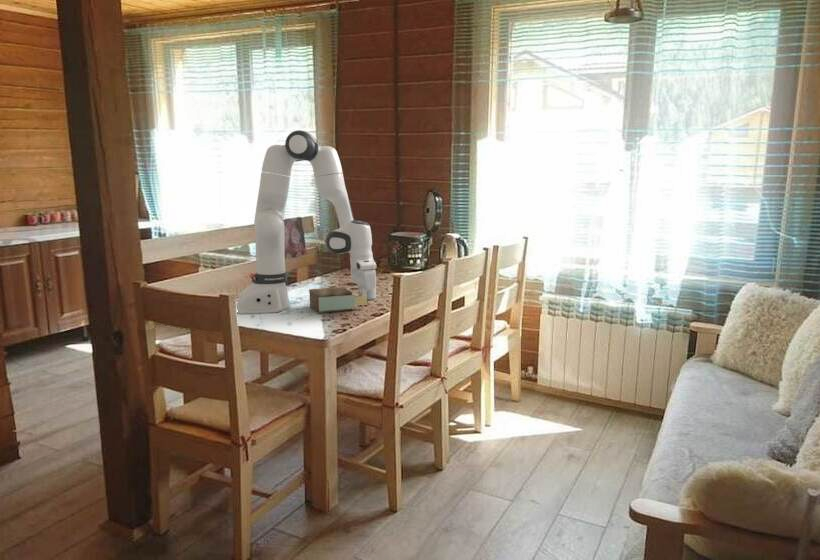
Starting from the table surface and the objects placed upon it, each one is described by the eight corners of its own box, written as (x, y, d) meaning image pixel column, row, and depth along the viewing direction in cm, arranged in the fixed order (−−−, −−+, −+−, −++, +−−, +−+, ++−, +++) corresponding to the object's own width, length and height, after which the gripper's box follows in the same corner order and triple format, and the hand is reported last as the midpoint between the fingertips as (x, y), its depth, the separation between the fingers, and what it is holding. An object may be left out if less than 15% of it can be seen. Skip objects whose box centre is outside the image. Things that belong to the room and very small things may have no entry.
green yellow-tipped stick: (319, 311, 240) (318, 297, 239) (318, 311, 240) (318, 297, 239) (367, 307, 246) (366, 294, 246) (366, 306, 247) (366, 293, 246)
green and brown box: (317, 313, 241) (317, 295, 239) (309, 306, 252) (309, 289, 251) (352, 309, 246) (352, 292, 245) (343, 303, 257) (342, 286, 256)
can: (373, 301, 261) (373, 272, 259) (356, 300, 263) (355, 272, 261) (378, 297, 269) (377, 269, 266) (361, 296, 270) (360, 269, 268)
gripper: (346, 259, 253) (347, 292, 256) (362, 266, 235) (363, 302, 237) (360, 258, 256) (362, 291, 258) (378, 264, 237) (379, 300, 240)
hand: (363, 296), depth 248 cm, fingers closed
